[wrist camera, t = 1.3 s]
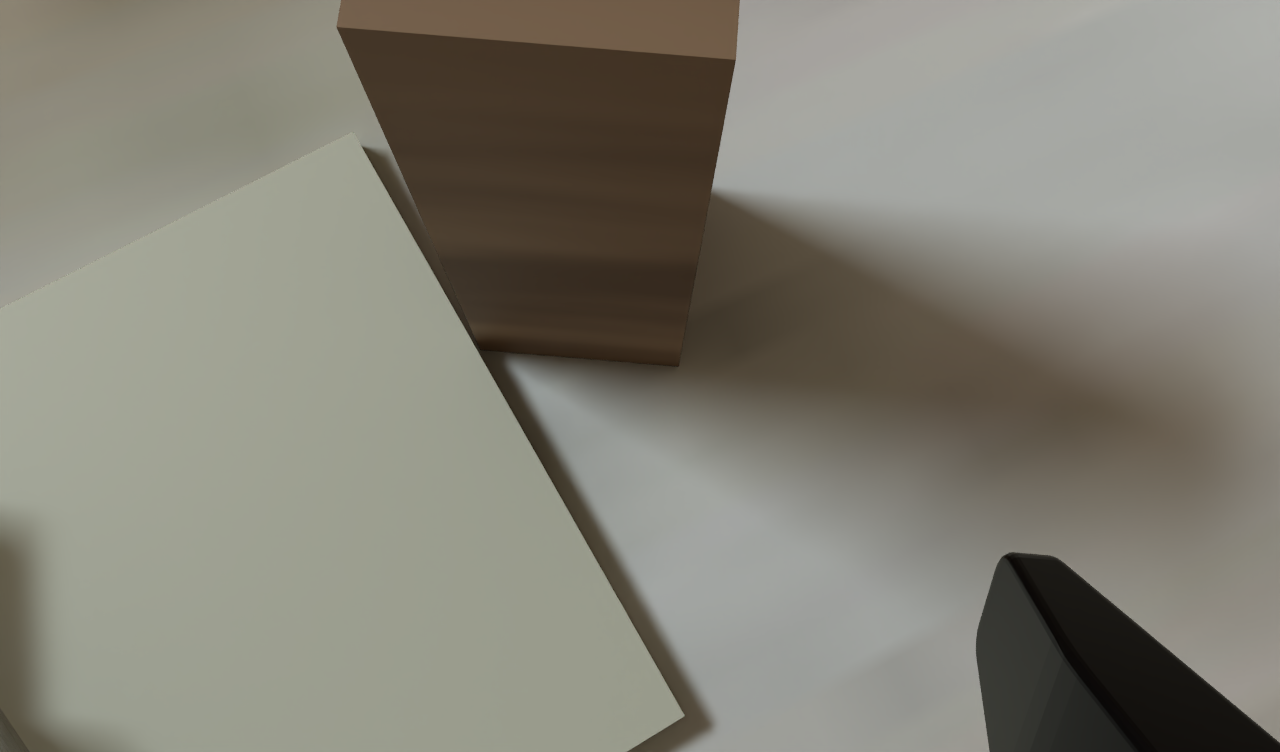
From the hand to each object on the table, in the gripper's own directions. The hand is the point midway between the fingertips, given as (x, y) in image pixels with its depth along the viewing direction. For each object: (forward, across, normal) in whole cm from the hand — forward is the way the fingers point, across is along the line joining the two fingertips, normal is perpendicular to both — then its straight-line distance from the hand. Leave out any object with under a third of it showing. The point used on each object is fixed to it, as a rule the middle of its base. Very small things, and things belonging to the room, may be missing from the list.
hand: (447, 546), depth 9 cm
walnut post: (+15, 0, +4) cm, 15 cm away
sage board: (+9, +8, +10) cm, 15 cm away
